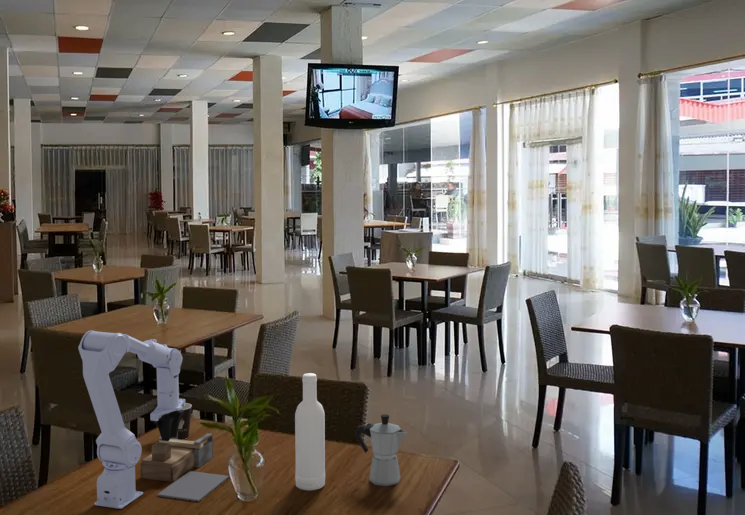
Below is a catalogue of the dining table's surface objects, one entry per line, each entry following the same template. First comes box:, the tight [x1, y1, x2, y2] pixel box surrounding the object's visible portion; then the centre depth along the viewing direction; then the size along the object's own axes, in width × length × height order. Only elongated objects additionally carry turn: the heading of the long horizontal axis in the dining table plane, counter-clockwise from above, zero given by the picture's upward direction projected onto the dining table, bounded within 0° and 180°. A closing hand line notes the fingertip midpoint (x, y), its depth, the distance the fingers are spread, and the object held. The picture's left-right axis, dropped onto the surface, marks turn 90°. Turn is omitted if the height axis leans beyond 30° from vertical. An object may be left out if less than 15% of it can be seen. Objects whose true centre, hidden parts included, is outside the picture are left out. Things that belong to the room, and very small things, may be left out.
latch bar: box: [158, 439, 204, 449], centre depth 208 cm, size 2×13×1 cm, turn 73°
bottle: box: [294, 372, 326, 491], centre depth 192 cm, size 8×8×30 cm
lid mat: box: [157, 470, 230, 503], centre depth 192 cm, size 16×12×1 cm
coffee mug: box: [151, 402, 193, 440], centre depth 230 cm, size 12×9×10 cm
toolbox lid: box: [141, 441, 196, 467], centre depth 203 cm, size 14×9×5 cm
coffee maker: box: [354, 413, 409, 487], centre depth 197 cm, size 15×9×18 cm, turn 74°
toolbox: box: [140, 432, 214, 483], centre depth 206 cm, size 19×13×7 cm
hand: (169, 438), depth 202 cm, fingers open, 3 cm apart
